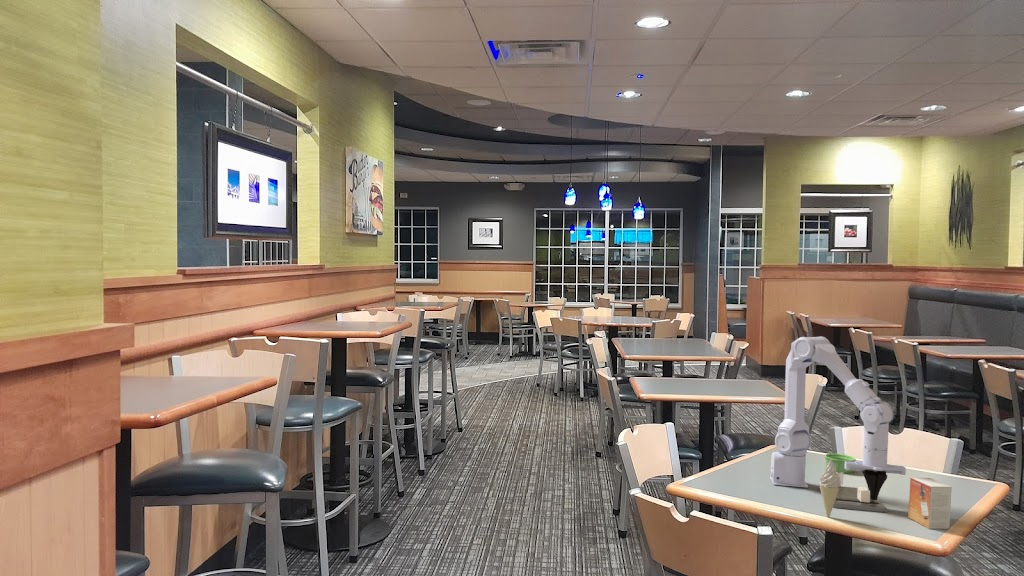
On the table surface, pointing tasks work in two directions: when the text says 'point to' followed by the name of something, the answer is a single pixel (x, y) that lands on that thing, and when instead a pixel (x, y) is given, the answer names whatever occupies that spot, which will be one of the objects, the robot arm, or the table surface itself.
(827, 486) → the ice cream cone
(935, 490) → the small box
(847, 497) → the console plate
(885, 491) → the table surface
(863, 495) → the fader knob
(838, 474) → the door
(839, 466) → the ramekin
